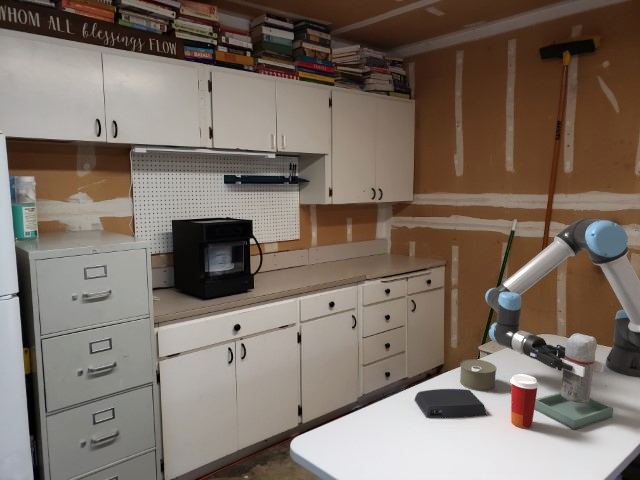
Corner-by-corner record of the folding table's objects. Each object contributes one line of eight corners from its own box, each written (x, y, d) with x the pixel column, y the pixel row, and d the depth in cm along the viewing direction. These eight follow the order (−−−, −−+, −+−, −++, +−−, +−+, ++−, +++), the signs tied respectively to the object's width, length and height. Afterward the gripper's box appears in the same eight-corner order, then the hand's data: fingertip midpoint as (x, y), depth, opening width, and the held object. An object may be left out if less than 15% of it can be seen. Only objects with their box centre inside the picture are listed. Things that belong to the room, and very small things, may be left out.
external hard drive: (413, 400, 154) (413, 388, 154) (469, 398, 157) (470, 386, 156) (426, 420, 141) (427, 407, 141) (488, 418, 144) (488, 405, 143)
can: (498, 382, 168) (499, 363, 167) (490, 395, 158) (492, 375, 157) (464, 374, 174) (465, 356, 174) (455, 386, 164) (456, 367, 164)
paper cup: (534, 419, 142) (537, 375, 140) (536, 432, 135) (540, 386, 133) (506, 415, 144) (509, 371, 143) (507, 427, 137) (510, 381, 135)
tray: (570, 397, 157) (571, 389, 156) (612, 417, 144) (613, 408, 144) (532, 408, 149) (533, 399, 148) (573, 430, 136) (574, 420, 136)
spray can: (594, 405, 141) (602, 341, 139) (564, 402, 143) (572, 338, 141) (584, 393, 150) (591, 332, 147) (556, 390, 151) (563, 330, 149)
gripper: (549, 351, 166) (613, 376, 146) (506, 360, 157) (568, 388, 137) (551, 330, 165) (616, 353, 145) (508, 338, 156) (571, 363, 136)
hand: (593, 370), depth 141 cm, fingers closed on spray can, 8 cm apart
